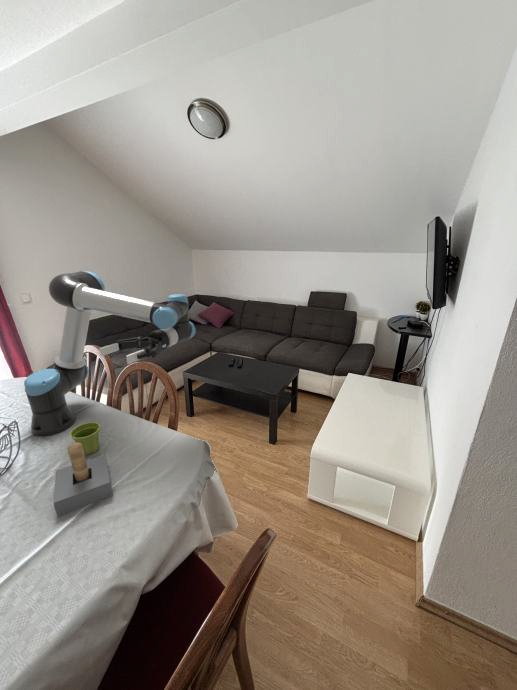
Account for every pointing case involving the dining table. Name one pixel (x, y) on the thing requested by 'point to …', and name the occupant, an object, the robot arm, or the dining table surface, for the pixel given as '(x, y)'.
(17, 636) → the dining table surface
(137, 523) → the dining table surface
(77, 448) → the oak dowel
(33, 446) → the dining table surface
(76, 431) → the plant pot
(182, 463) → the dining table surface
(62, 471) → the socket block
